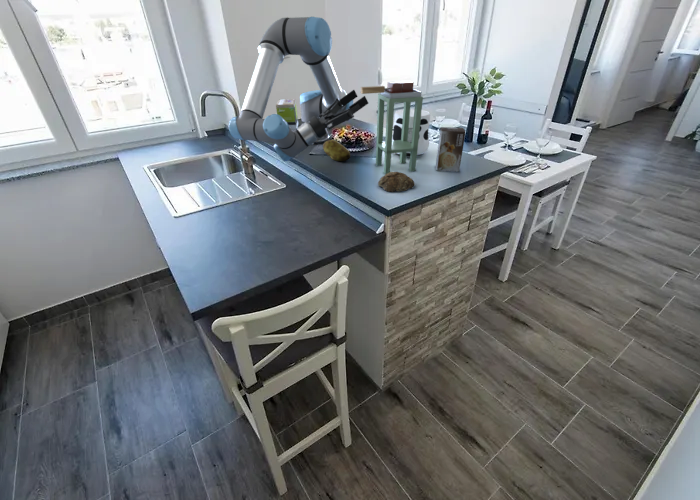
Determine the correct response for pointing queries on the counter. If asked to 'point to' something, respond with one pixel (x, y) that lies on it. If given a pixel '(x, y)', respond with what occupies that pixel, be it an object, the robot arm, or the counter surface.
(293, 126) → the tea box
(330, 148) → the potato
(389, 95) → the steel pan
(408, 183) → the bread roll
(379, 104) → the shelf stand
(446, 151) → the coffee box
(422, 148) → the milk container
